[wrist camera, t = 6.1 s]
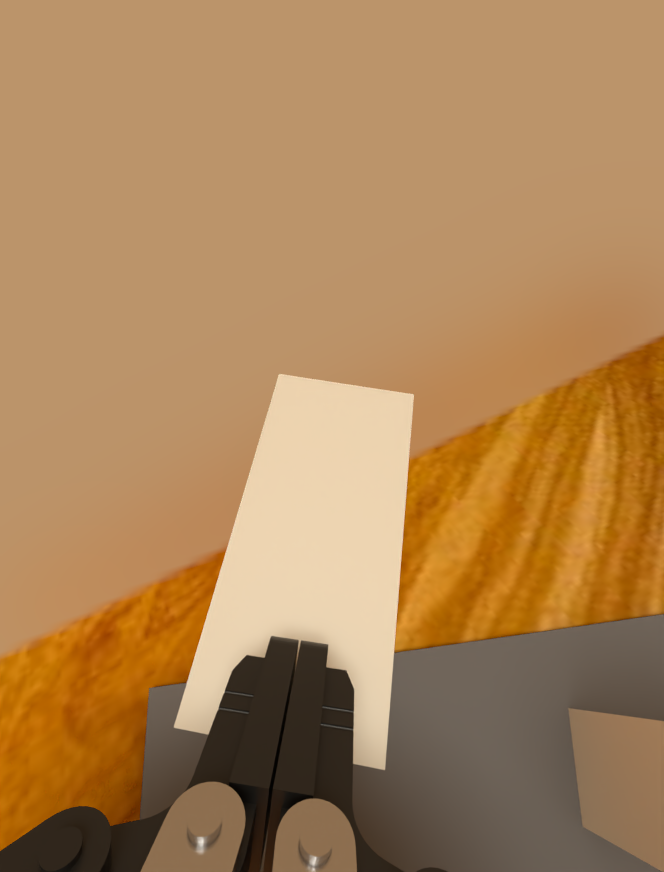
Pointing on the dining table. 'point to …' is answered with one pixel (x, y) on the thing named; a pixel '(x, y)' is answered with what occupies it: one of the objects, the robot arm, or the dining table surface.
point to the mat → (473, 749)
